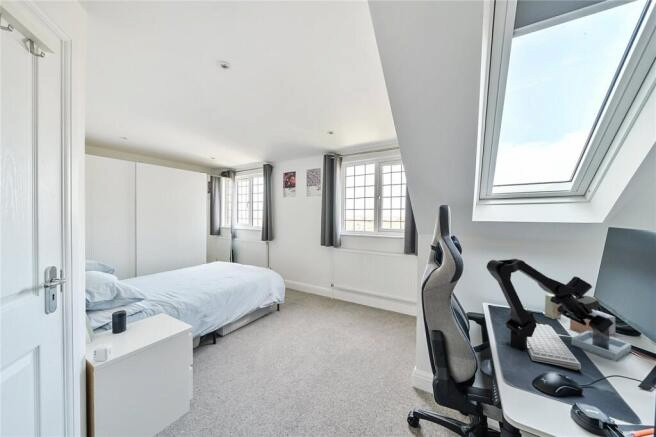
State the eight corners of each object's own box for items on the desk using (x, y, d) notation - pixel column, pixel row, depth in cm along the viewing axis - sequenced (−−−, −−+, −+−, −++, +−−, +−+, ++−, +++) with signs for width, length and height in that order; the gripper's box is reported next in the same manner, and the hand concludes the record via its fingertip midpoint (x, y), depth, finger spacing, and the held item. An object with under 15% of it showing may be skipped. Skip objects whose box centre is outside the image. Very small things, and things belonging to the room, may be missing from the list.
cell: (600, 349, 101) (601, 321, 101) (588, 343, 106) (589, 316, 106) (612, 349, 101) (613, 321, 101) (600, 343, 106) (601, 316, 105)
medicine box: (615, 335, 114) (616, 317, 114) (606, 335, 114) (606, 317, 114) (597, 327, 122) (597, 310, 122) (588, 327, 122) (588, 310, 122)
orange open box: (589, 335, 114) (590, 320, 114) (570, 329, 120) (570, 315, 120) (596, 332, 117) (596, 318, 117) (576, 326, 123) (576, 312, 123)
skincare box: (553, 319, 131) (553, 297, 130) (544, 316, 135) (544, 294, 135) (561, 318, 133) (562, 296, 132) (552, 315, 137) (552, 293, 136)
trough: (615, 361, 94) (616, 353, 94) (571, 344, 106) (571, 338, 106) (630, 351, 101) (631, 344, 101) (587, 336, 113) (587, 330, 113)
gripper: (609, 298, 94) (638, 327, 94) (564, 284, 113) (588, 308, 112) (587, 318, 94) (615, 346, 94) (546, 300, 113) (570, 324, 113)
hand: (596, 329), depth 103 cm, fingers open, 9 cm apart
